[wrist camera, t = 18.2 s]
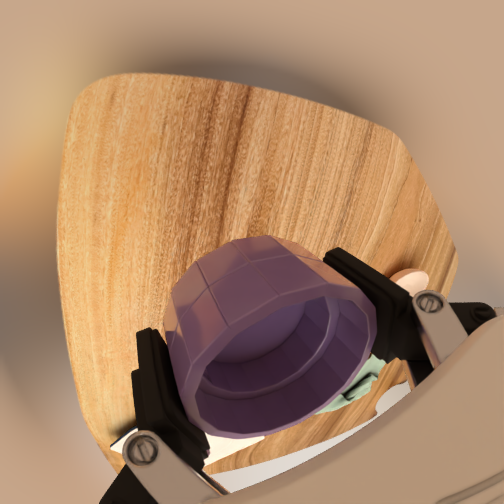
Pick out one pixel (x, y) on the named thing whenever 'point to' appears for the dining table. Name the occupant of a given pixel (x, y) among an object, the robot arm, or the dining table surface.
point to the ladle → (411, 280)
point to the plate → (217, 444)
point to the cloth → (357, 384)
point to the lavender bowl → (264, 336)
